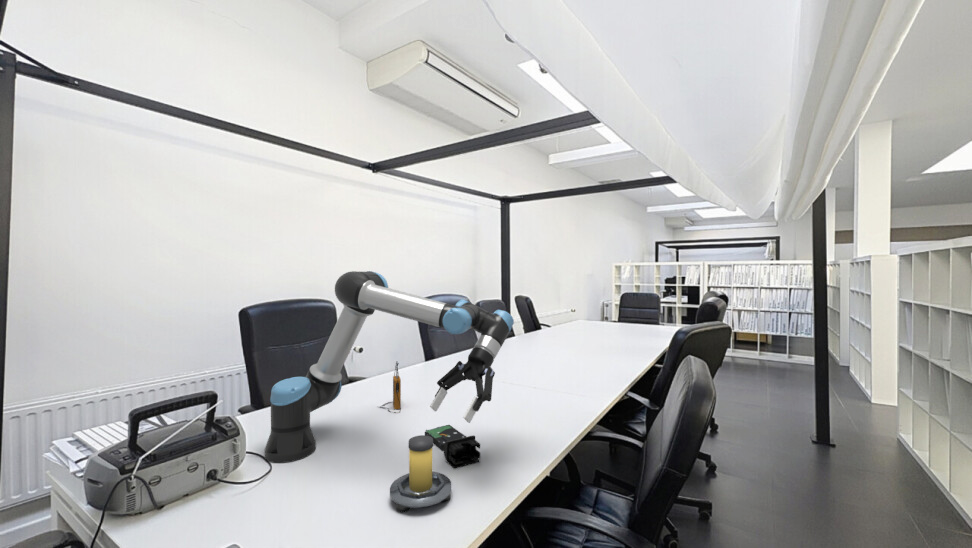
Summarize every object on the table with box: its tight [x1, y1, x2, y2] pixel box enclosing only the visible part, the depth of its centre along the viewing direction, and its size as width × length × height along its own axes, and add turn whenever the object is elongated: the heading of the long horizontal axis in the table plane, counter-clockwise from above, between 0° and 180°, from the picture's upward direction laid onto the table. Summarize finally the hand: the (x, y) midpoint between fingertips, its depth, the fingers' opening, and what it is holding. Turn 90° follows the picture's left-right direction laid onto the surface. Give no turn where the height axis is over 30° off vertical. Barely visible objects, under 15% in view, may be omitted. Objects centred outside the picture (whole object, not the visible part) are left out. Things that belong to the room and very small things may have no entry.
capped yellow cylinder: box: [408, 434, 434, 492], centre depth 104 cm, size 6×6×12 cm
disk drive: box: [424, 424, 467, 452], centre depth 140 cm, size 10×3×15 cm
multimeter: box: [376, 361, 402, 414], centre depth 173 cm, size 15×10×20 cm
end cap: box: [442, 435, 481, 470], centre depth 124 cm, size 10×7×7 cm
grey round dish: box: [389, 470, 452, 513], centre depth 104 cm, size 16×16×4 cm
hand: (448, 414), depth 111 cm, fingers open, 13 cm apart
